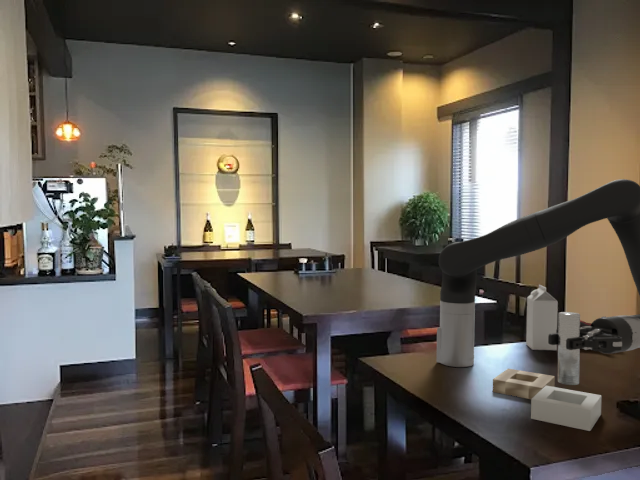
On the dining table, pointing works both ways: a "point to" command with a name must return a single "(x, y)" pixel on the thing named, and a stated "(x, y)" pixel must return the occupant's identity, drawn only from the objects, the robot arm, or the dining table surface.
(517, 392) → the maple socket
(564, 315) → the steel peg
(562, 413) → the grey socket
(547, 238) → the robot arm
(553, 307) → the milk carton
